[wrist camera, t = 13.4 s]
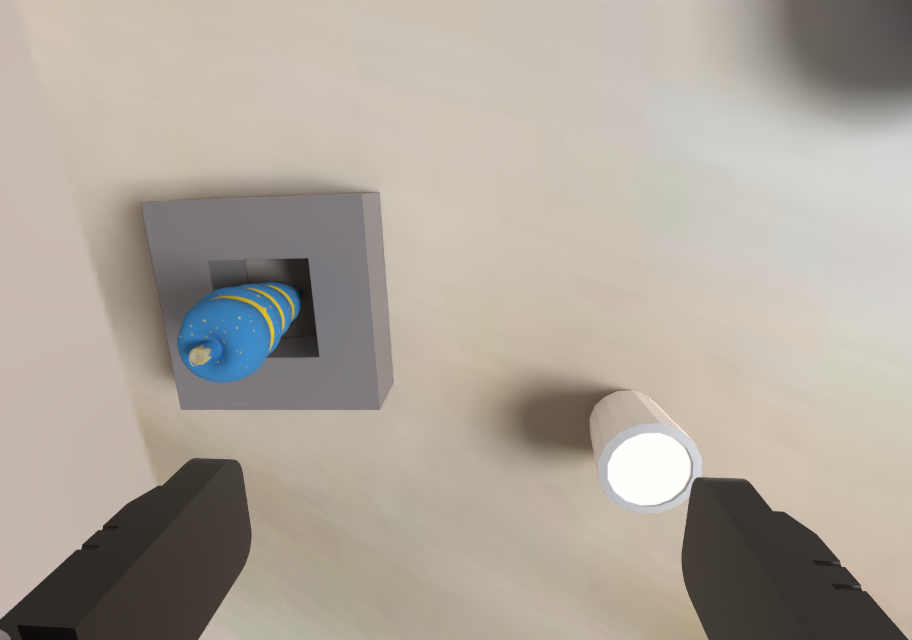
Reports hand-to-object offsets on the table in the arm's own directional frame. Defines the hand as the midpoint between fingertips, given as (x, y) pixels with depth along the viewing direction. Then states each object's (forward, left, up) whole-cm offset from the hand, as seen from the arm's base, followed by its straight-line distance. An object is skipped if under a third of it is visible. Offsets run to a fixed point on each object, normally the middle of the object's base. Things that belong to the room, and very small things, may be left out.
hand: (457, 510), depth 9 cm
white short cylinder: (+13, +11, -30) cm, 35 cm away
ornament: (+2, -15, -30) cm, 34 cm away
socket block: (+2, -15, -30) cm, 34 cm away
